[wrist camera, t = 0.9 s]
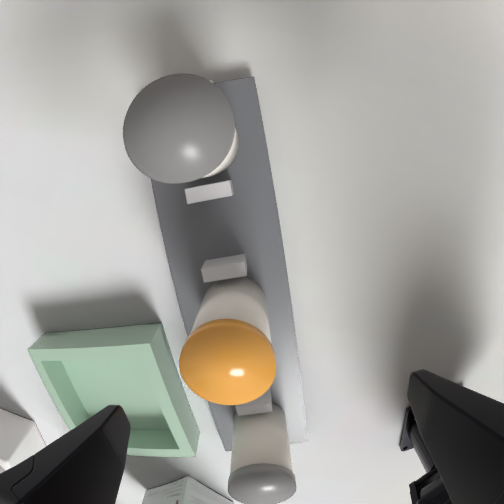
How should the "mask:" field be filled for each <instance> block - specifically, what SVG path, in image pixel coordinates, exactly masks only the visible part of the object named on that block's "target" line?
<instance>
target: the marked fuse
mask: <svg viewBox="0 0 504 504" xmlns="http://www.w3.org/2000/svg"><path fill="white" fill-rule="evenodd" d="M179 368H180V372H181V375H182V378H183V380H184V382H185V383H186V385H187V386H188V387H189V388H190V389H191V390H192V391H193V392H194V393H195V394H197V395H198V396H200V397H201V398H203V399H205V400H207V401H210V402H213V403H217V404H222V405H239V404H244V403H248V402H250V401H253V400H255V399H257V398H259V397H260V396H261V395H263V394H264V393H265V392H266V391H267V390H268V389H269V388H270V386H271V385H272V383H273V381H274V378H275V374H276V361H275V353H274V349H273V346H272V344H271V336H270V327H269V318H268V309H267V300H266V297H265V294H264V292H263V290H262V289H261V288H260V287H259V286H258V285H257V284H256V283H255V282H254V281H252V280H250V279H248V278H246V277H237V278H230V279H224V280H218V281H215V282H214V283H213V284H211V285H210V287H209V288H208V289H207V291H206V293H205V295H204V298H203V301H202V303H201V306H200V309H199V312H198V314H197V317H196V320H195V323H194V325H193V328H192V331H191V334H190V335H189V336H188V338H187V339H186V341H185V344H184V346H183V349H182V352H181V355H180V359H179Z"/></svg>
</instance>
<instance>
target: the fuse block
mask: <svg viewBox="0 0 504 504" xmlns="http://www.w3.org/2000/svg"><path fill="white" fill-rule="evenodd" d="M123 139H124V145H125V149H126V151H127V154H128V156H129V158H130V160H131V161H132V163H133V164H134V165H135V166H136V167H137V169H138V170H139V171H141V172H142V173H143V174H144V175H146V176H148V177H149V178H151V182H152V188H153V193H154V198H155V203H156V208H157V213H158V218H159V222H160V227H161V232H162V236H163V241H164V245H165V250H166V254H167V258H168V262H169V267H170V271H171V275H172V279H173V283H174V287H175V291H176V295H177V299H178V302H179V306H180V310H181V314H182V317H183V321H184V325H185V328H186V332H187V335H188V336H189V335H190V334H191V331H192V328H193V325H194V323H195V320H196V317H197V314H198V312H199V309H200V306H201V303H202V301H203V298H204V295H205V293H206V291H207V289H208V288H209V287H210V285H211V284H213V283H214V282H215V281H218V280H224V279H230V278H237V277H246V278H248V279H250V280H252V281H254V282H255V283H256V284H257V285H258V286H259V287H260V288H261V289H262V290H263V292H264V294H265V297H266V300H267V309H268V318H269V327H270V336H271V344H272V346H273V349H274V353H275V361H276V374H275V378H274V381H273V383H272V385H271V386H270V388H269V389H268V390H267V391H266V392H265V393H264V394H263V395H261V396H260V397H259V398H257V399H255V400H253V401H250V402H248V403H244V404H239V405H222V404H217V403H213V402H210V401H208V403H209V406H210V409H211V412H212V415H213V418H214V421H215V424H216V426H217V429H218V432H219V435H220V438H221V440H222V443H223V446H224V449H225V451H232V457H231V472H230V476H229V479H228V493H229V495H230V496H231V497H232V498H233V499H235V500H237V501H239V502H241V503H244V504H277V503H280V502H283V501H285V500H287V499H289V498H290V497H291V496H292V495H293V494H294V493H295V491H296V481H295V476H294V474H293V470H292V462H291V454H290V446H289V444H294V443H300V442H306V441H308V436H307V426H306V417H305V408H304V399H303V390H302V382H301V374H300V365H299V357H298V349H297V342H296V334H295V326H294V319H293V311H292V304H291V297H290V290H289V283H288V276H287V269H286V262H285V255H284V249H283V242H282V236H281V229H280V223H279V216H278V210H277V204H276V198H275V192H274V186H273V180H272V174H271V168H270V162H269V156H268V150H267V145H266V139H265V133H264V128H263V122H262V117H261V111H260V106H259V100H258V95H257V90H256V85H255V79H254V77H248V78H242V79H236V80H230V81H225V82H219V83H213V81H212V80H207V79H205V78H202V77H199V76H196V75H191V74H174V75H169V76H165V77H162V78H160V79H158V80H156V81H154V82H152V83H151V84H149V85H148V86H146V87H145V88H144V89H143V90H142V91H141V92H140V93H139V94H138V95H137V96H136V97H135V99H134V100H133V102H132V103H131V105H130V107H129V109H128V111H127V114H126V117H125V120H124V126H123Z"/></svg>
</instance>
